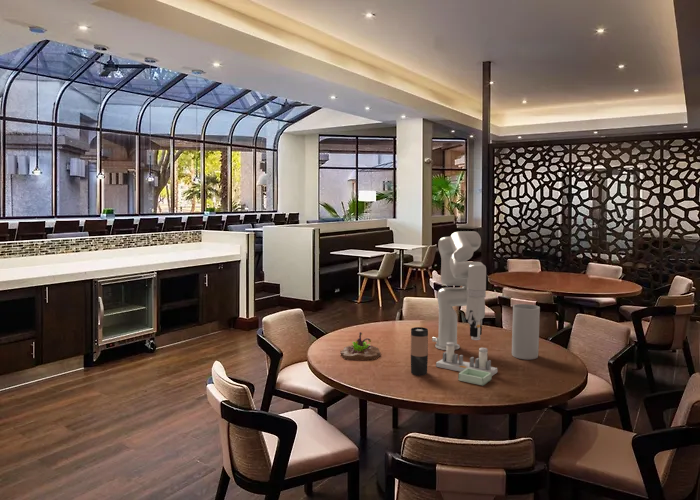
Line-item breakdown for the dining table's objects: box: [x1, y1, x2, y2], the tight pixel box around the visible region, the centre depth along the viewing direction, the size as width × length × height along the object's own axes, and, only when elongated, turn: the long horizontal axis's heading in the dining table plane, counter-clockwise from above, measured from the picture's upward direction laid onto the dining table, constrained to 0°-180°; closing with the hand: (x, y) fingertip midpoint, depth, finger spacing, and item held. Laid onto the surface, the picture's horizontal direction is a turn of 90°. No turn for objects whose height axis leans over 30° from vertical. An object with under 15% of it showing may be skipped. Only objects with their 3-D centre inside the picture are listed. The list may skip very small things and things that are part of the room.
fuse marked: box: [470, 319, 481, 341], centre depth 226 cm, size 4×4×9 cm
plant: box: [339, 332, 381, 361], centre depth 266 cm, size 20×20×11 cm
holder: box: [435, 351, 498, 377], centre depth 242 cm, size 26×9×6 cm, turn 54°
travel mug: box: [410, 326, 429, 376], centre depth 236 cm, size 8×8×20 cm
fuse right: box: [478, 347, 489, 370], centre depth 237 cm, size 4×4×9 cm
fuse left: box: [445, 342, 455, 363], centre depth 246 cm, size 4×4×9 cm
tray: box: [457, 368, 493, 387], centre depth 228 cm, size 11×9×3 cm
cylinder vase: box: [511, 303, 541, 361], centre depth 261 cm, size 12×12×25 cm
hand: (475, 335), depth 226 cm, fingers closed on fuse marked, 3 cm apart
